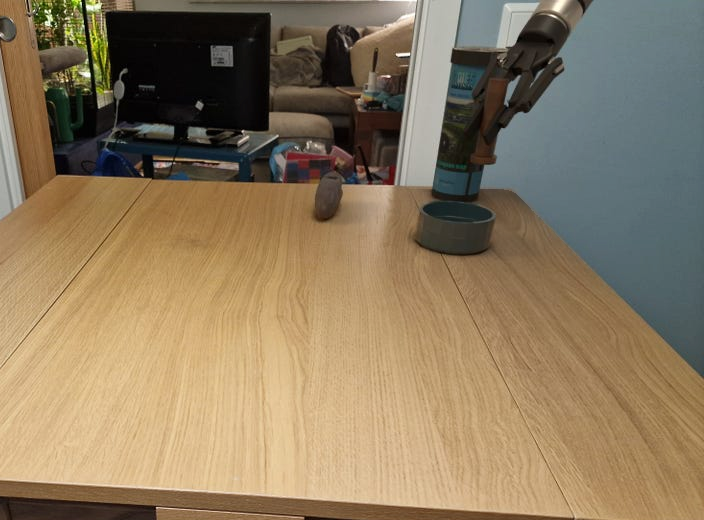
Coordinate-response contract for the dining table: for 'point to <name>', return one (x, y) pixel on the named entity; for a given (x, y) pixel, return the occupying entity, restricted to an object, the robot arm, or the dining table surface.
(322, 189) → the perforated stone tool
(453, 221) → the bowl
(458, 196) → the advertising column
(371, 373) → the dining table surface
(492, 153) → the muddler
